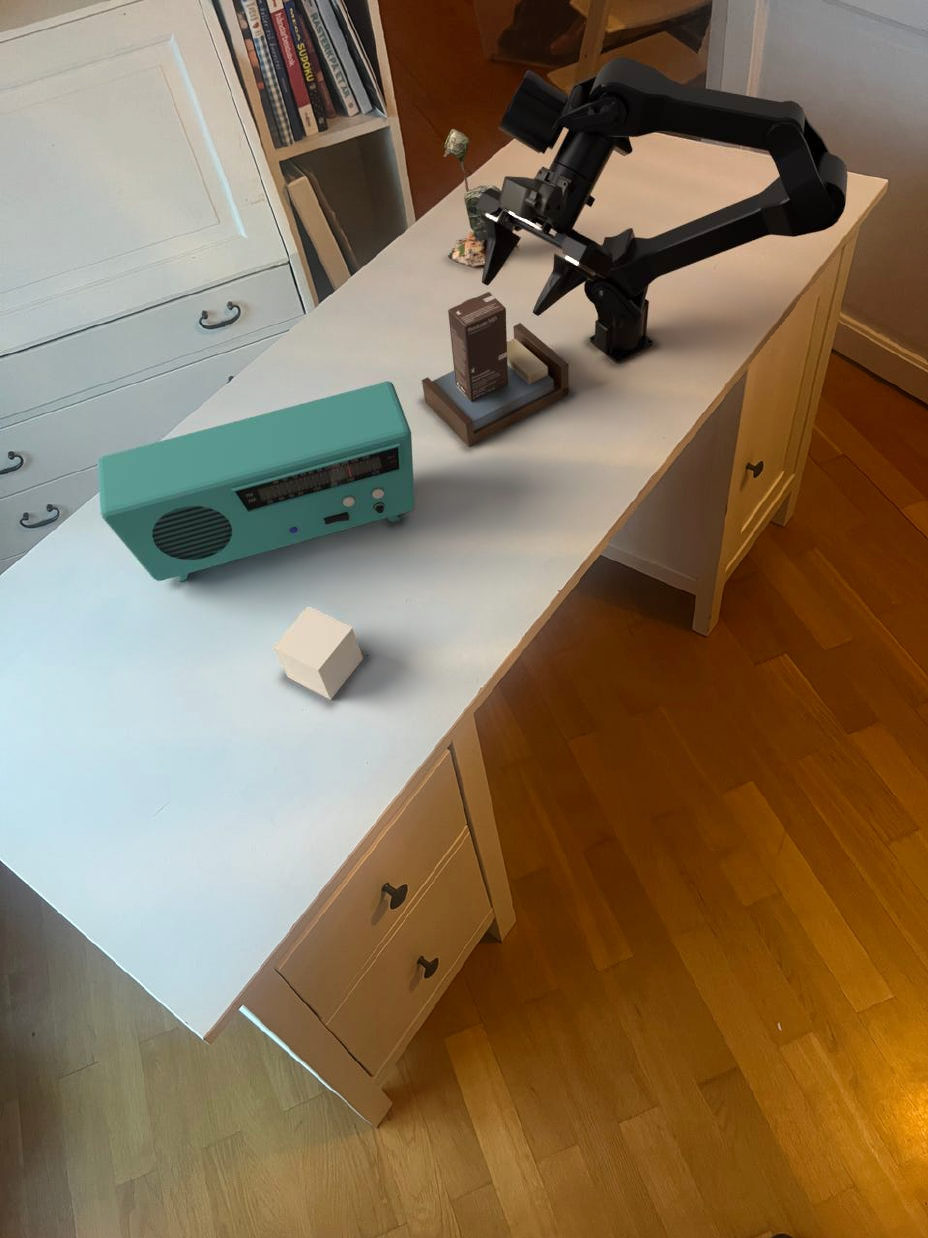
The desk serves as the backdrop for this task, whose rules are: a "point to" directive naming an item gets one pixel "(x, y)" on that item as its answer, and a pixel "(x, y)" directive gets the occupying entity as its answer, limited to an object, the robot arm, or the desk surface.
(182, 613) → the desk surface
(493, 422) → the bed
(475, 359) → the box
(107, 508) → the radio
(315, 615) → the cream cube
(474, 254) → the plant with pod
